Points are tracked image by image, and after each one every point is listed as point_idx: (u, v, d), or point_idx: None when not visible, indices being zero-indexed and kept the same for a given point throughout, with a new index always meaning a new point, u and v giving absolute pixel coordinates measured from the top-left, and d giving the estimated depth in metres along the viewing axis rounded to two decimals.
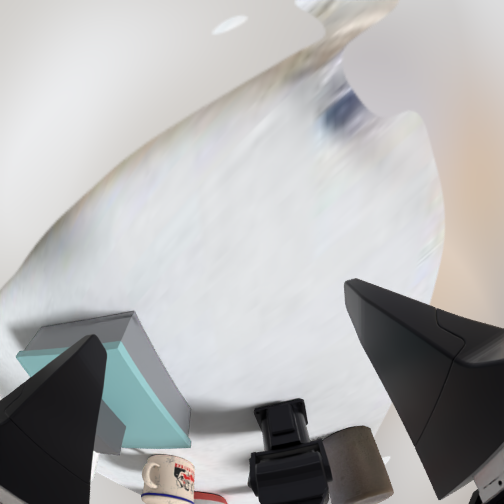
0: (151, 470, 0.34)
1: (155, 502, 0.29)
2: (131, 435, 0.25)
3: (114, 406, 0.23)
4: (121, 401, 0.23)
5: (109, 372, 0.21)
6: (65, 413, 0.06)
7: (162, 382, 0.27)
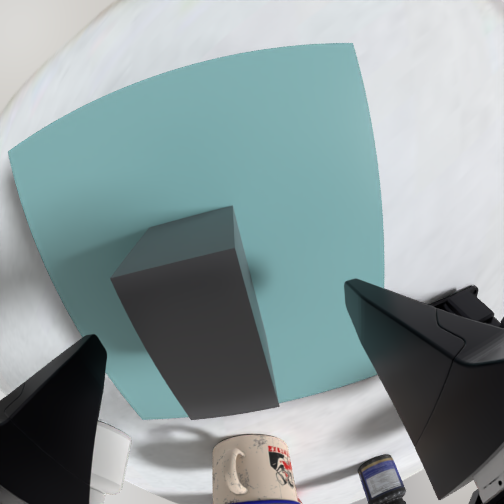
0: None
1: None
2: None
3: (267, 254, 0.11)
4: (297, 230, 0.11)
5: (308, 111, 0.09)
6: (65, 413, 0.06)
7: None
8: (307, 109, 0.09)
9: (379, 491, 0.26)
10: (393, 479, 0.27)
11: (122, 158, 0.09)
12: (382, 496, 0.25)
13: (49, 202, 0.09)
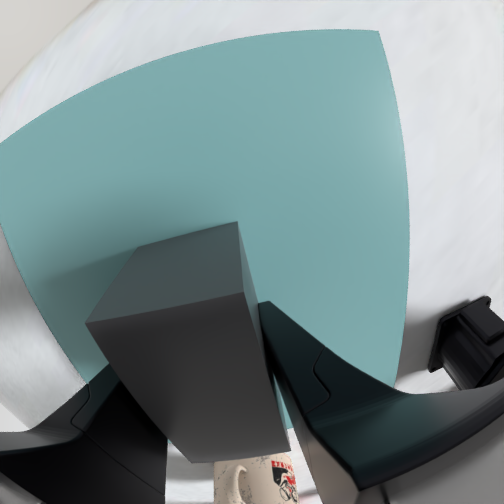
0: None
1: None
2: None
3: (278, 277, 0.09)
4: (314, 250, 0.09)
5: (329, 108, 0.07)
6: (141, 415, 0.06)
7: None
8: (328, 105, 0.07)
9: None
10: None
11: (104, 164, 0.07)
12: None
13: (26, 216, 0.08)
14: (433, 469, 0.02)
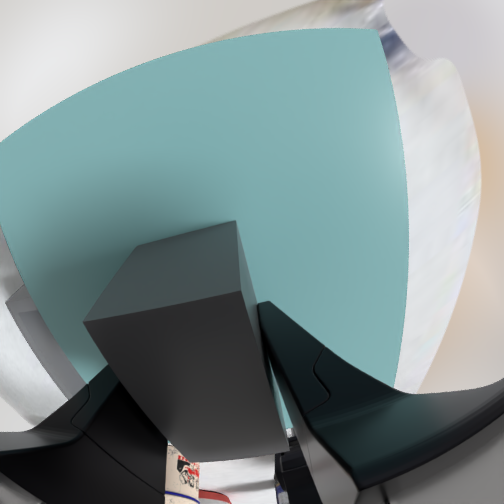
0: None
1: None
2: None
3: (277, 277, 0.09)
4: (313, 249, 0.09)
5: (328, 107, 0.07)
6: (141, 415, 0.06)
7: None
8: (326, 104, 0.07)
9: None
10: None
11: (103, 163, 0.07)
12: None
13: (25, 215, 0.08)
14: (433, 469, 0.02)
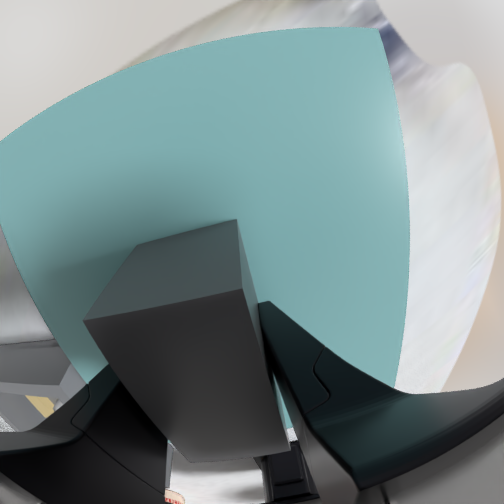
0: None
1: None
2: None
3: (278, 275, 0.09)
4: (314, 247, 0.09)
5: (329, 105, 0.07)
6: (141, 415, 0.06)
7: None
8: (327, 103, 0.07)
9: None
10: None
11: (103, 162, 0.07)
12: None
13: (25, 214, 0.08)
14: (433, 469, 0.02)
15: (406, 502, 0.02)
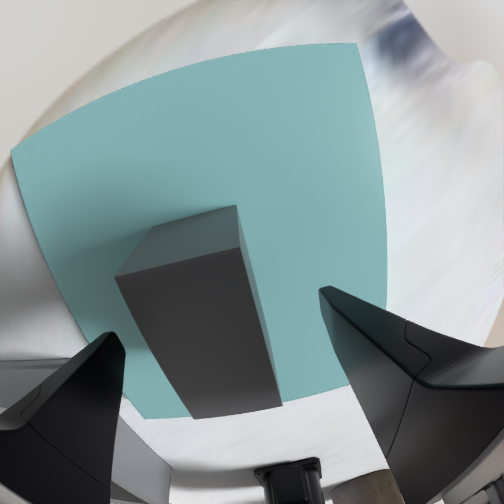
0: None
1: None
2: None
3: (271, 253, 0.11)
4: (301, 229, 0.11)
5: (312, 111, 0.09)
6: (85, 414, 0.06)
7: (125, 449, 0.16)
8: (311, 109, 0.09)
9: None
10: None
11: (125, 156, 0.09)
12: None
13: (52, 201, 0.09)
14: None
15: None
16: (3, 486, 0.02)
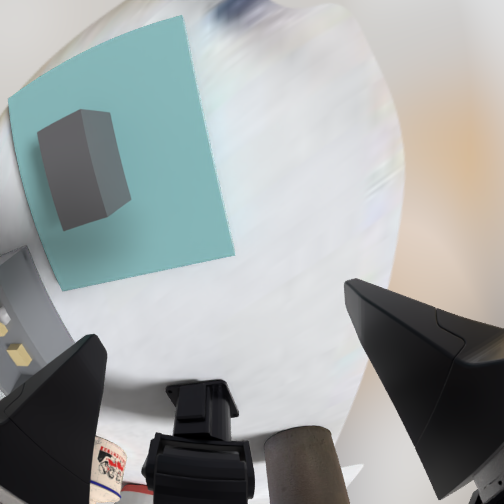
0: None
1: None
2: (133, 230, 0.18)
3: (128, 139, 0.15)
4: (144, 122, 0.15)
5: (150, 57, 0.14)
6: (65, 413, 0.06)
7: (51, 333, 0.20)
8: (150, 56, 0.13)
9: None
10: None
11: (62, 95, 0.14)
12: None
13: (25, 123, 0.14)
14: None
15: None
16: None
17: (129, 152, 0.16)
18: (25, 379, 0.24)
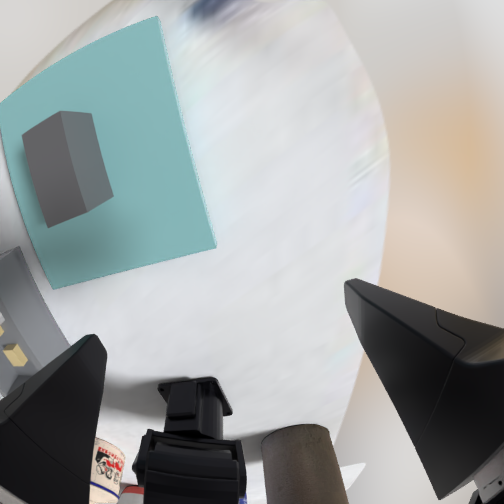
0: None
1: None
2: (117, 226, 0.18)
3: (109, 137, 0.15)
4: (123, 121, 0.15)
5: (128, 58, 0.14)
6: (65, 413, 0.06)
7: (44, 331, 0.20)
8: (127, 57, 0.13)
9: None
10: None
11: (47, 99, 0.14)
12: None
13: (14, 128, 0.14)
14: None
15: None
16: None
17: (110, 150, 0.16)
18: (22, 380, 0.24)
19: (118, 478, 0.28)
